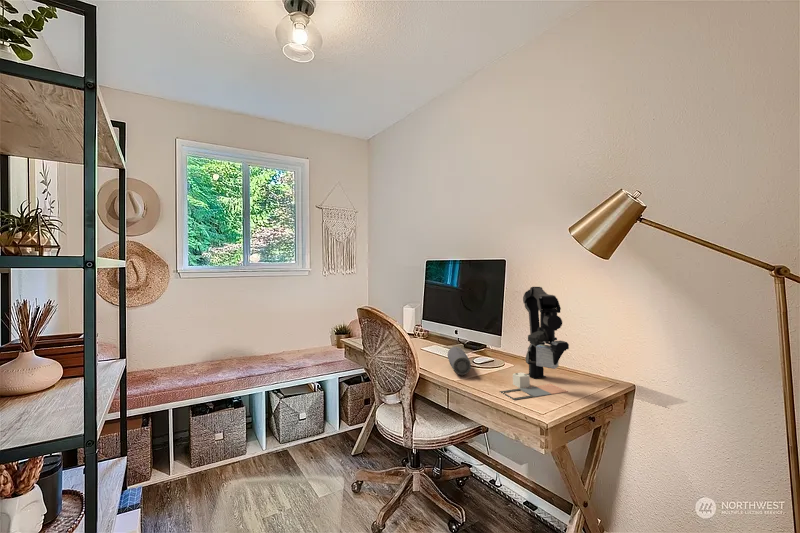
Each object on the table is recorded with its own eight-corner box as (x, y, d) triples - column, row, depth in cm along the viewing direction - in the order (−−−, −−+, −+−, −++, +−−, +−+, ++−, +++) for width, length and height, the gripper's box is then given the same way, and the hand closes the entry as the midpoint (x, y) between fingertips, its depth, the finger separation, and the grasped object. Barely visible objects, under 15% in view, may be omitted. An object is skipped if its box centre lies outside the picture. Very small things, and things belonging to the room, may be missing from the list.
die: (512, 384, 168) (512, 373, 168) (522, 383, 170) (522, 372, 170) (520, 388, 163) (520, 376, 163) (529, 387, 165) (529, 375, 165)
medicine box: (558, 367, 160) (558, 346, 160) (554, 369, 157) (554, 348, 157) (540, 363, 165) (540, 343, 165) (535, 365, 162) (536, 345, 162)
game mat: (499, 392, 159) (499, 391, 159) (550, 384, 168) (550, 383, 168) (514, 400, 149) (514, 399, 149) (567, 391, 158) (567, 391, 158)
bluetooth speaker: (472, 377, 179) (472, 356, 179) (452, 377, 179) (452, 356, 179) (464, 364, 202) (464, 345, 202) (446, 364, 202) (446, 345, 202)
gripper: (517, 322, 167) (517, 358, 167) (547, 330, 149) (546, 370, 150) (538, 321, 170) (538, 355, 171) (569, 328, 153) (569, 367, 153)
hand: (547, 361), depth 161 cm, fingers closed on medicine box, 9 cm apart
